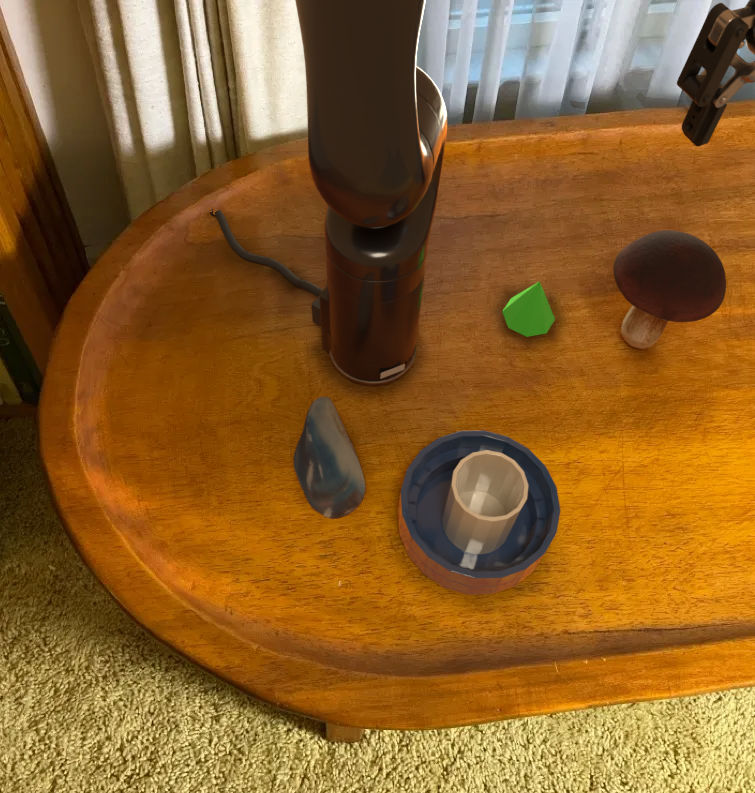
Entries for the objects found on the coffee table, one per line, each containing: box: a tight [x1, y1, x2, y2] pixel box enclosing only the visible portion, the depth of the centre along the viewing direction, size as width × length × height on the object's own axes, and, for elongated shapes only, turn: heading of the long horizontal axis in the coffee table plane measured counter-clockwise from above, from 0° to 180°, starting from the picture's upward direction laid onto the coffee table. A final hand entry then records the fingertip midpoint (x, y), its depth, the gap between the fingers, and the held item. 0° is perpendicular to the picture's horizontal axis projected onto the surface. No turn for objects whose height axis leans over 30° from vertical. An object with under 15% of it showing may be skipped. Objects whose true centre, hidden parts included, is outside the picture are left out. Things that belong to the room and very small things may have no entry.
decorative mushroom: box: [612, 229, 727, 350], centre depth 78 cm, size 11×11×15 cm
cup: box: [442, 450, 528, 554], centre depth 69 cm, size 6×6×8 cm
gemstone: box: [501, 280, 556, 338], centre depth 83 cm, size 6×6×6 cm
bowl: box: [397, 429, 561, 596], centre depth 70 cm, size 14×14×6 cm
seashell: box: [293, 396, 366, 520], centre depth 73 cm, size 6×9×10 cm
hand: (738, 123), depth 58 cm, fingers open, 8 cm apart
